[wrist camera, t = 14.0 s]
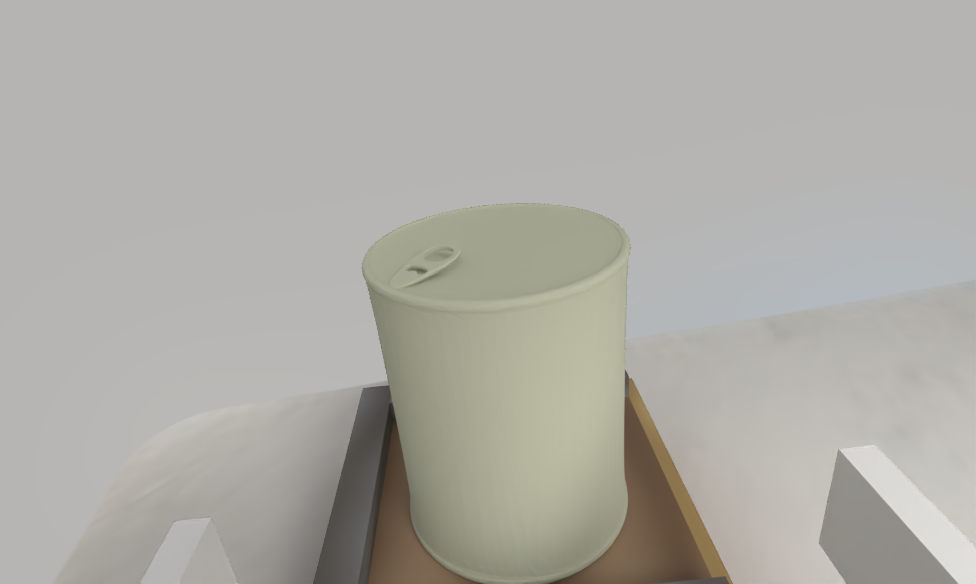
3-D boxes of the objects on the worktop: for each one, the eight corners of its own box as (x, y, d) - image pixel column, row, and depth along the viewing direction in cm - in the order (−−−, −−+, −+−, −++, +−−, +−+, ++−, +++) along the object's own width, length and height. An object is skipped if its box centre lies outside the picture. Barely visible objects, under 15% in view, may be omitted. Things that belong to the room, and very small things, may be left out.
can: (369, 499, 25) (306, 243, 20) (516, 401, 31) (497, 179, 26) (519, 642, 19) (485, 322, 14) (672, 487, 24) (688, 215, 19)
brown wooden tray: (630, 436, 33) (632, 359, 31) (749, 719, 20) (767, 619, 18) (379, 462, 33) (363, 388, 31) (327, 765, 20) (291, 671, 18)
